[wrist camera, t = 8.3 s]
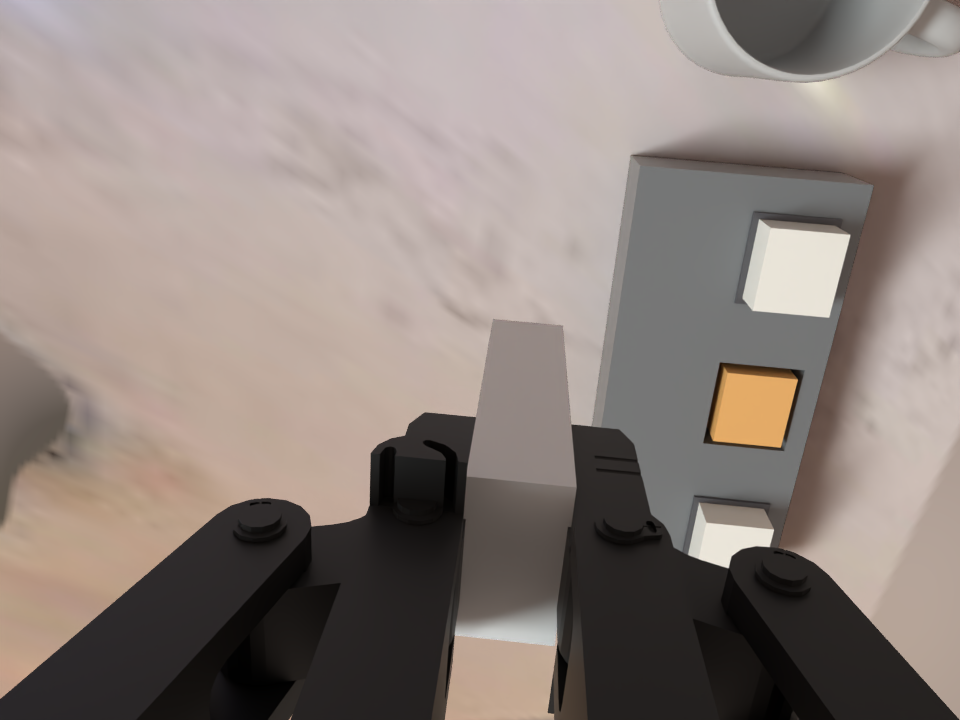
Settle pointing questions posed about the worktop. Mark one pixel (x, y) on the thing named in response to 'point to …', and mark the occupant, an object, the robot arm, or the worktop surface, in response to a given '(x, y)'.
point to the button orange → (751, 404)
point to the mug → (807, 34)
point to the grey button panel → (722, 332)
